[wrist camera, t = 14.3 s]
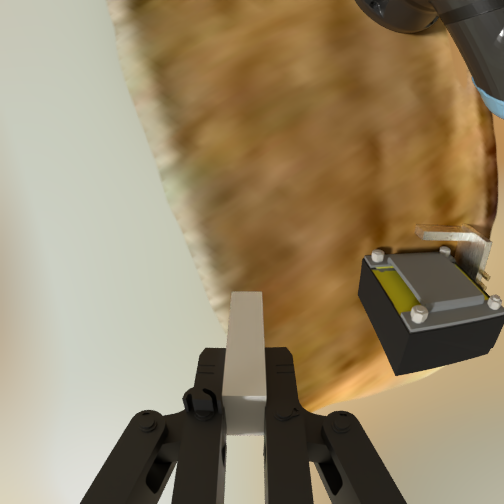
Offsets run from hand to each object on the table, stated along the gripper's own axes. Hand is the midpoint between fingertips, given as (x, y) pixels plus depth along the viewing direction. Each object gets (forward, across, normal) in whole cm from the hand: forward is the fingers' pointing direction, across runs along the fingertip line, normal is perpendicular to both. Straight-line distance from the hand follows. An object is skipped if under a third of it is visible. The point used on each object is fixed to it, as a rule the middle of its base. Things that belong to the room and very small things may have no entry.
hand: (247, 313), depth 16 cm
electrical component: (+33, +28, -16) cm, 46 cm away
